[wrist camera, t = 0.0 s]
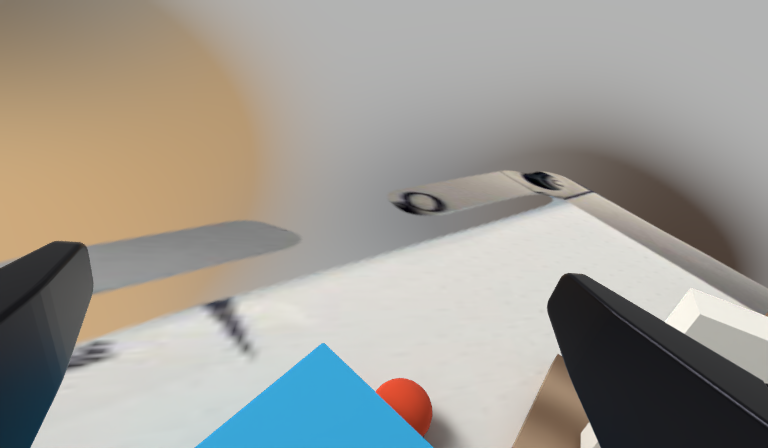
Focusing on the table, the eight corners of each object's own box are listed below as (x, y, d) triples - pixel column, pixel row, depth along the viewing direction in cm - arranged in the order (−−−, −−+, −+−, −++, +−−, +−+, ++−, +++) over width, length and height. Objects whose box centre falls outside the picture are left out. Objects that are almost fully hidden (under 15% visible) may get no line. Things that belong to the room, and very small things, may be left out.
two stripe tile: (701, 528, 22) (876, 387, 16) (580, 468, 23) (701, 318, 18) (692, 486, 24) (846, 346, 18) (580, 433, 25) (690, 287, 19)
